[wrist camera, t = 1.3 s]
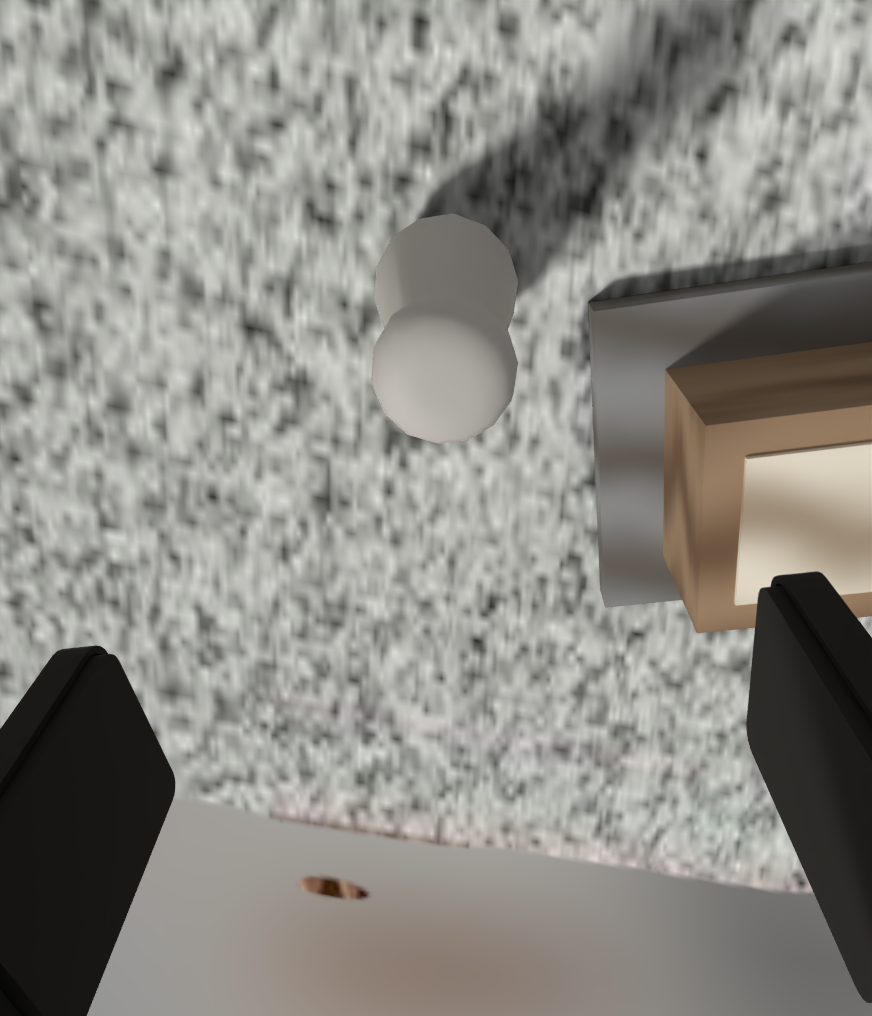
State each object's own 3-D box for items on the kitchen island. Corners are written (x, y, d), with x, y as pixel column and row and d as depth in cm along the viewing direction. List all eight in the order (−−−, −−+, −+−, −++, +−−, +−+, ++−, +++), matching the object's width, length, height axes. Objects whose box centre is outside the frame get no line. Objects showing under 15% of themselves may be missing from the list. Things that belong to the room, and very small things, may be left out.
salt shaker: (364, 316, 32) (317, 442, 21) (401, 184, 30) (369, 250, 18) (486, 357, 33) (503, 498, 22) (534, 232, 30) (580, 322, 19)
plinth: (587, 302, 32) (622, 360, 25) (972, 247, 30) (1116, 294, 24) (600, 590, 40) (629, 692, 33) (905, 558, 38) (998, 658, 32)
